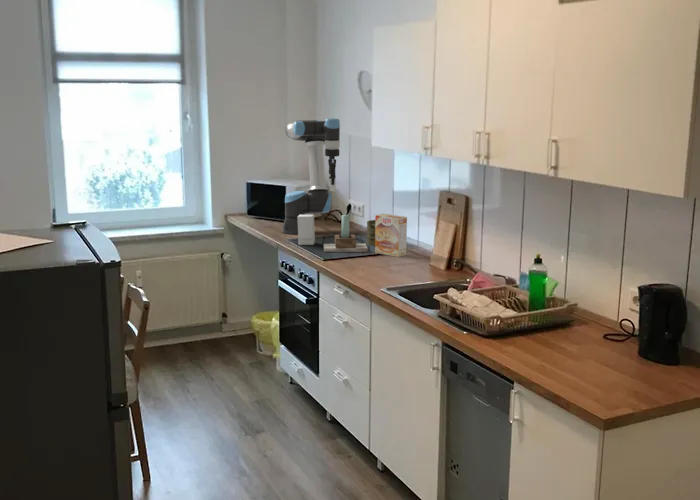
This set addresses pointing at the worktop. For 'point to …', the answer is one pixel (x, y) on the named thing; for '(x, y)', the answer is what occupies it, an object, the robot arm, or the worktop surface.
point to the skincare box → (306, 230)
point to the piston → (371, 232)
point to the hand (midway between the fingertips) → (332, 188)
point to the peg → (345, 226)
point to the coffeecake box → (390, 235)
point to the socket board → (358, 248)
